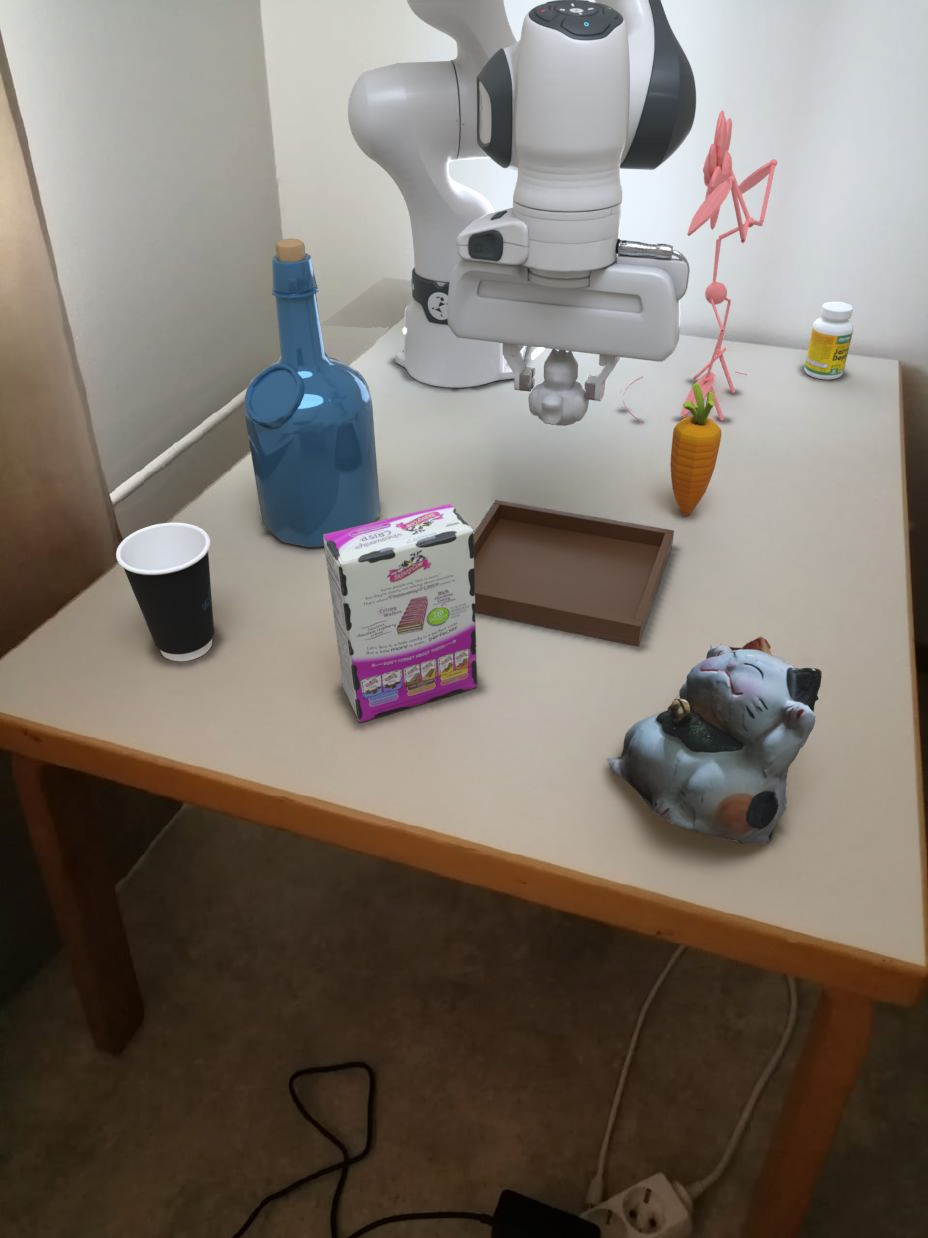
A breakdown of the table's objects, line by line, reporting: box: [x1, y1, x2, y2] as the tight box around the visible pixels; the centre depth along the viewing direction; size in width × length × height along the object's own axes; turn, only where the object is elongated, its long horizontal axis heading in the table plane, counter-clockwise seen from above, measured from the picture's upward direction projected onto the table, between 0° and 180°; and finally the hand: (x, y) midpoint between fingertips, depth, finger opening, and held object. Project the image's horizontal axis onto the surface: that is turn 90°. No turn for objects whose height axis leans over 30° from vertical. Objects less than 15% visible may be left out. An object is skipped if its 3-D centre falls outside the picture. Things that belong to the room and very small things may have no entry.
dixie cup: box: [115, 522, 215, 662], centre depth 87 cm, size 8×8×11 cm
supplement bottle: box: [804, 300, 854, 380], centre depth 135 cm, size 5×5×10 cm
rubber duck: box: [527, 349, 590, 427], centre depth 88 cm, size 5×7×8 cm
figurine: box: [619, 109, 778, 425], centre depth 121 cm, size 15×26×35 cm, turn 159°
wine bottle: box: [244, 238, 381, 548], centre depth 99 cm, size 14×13×30 cm
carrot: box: [670, 382, 723, 517], centre depth 103 cm, size 5×5×15 cm
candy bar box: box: [323, 503, 478, 723], centre depth 80 cm, size 11×5×16 cm, turn 114°
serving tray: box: [473, 499, 675, 647], centre depth 98 cm, size 17×20×2 cm
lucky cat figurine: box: [606, 636, 823, 845], centre depth 72 cm, size 15×12×14 cm
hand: (558, 393), depth 88 cm, fingers closed on rubber duck, 5 cm apart
